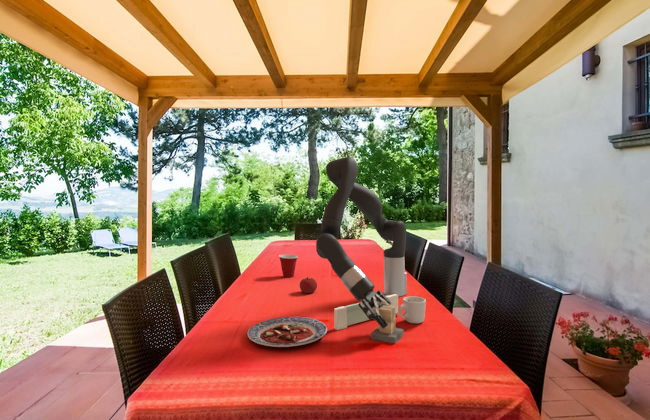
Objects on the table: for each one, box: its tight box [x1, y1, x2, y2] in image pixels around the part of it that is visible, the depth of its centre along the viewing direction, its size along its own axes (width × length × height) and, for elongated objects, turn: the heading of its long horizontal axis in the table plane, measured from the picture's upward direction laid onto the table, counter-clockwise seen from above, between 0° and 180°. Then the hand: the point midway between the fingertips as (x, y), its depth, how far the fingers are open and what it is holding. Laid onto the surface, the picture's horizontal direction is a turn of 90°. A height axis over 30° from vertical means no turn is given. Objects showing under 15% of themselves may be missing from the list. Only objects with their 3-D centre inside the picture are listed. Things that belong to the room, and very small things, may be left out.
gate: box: [344, 302, 379, 327], centre depth 133 cm, size 18×1×6 cm, turn 125°
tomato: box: [299, 277, 318, 295], centre depth 174 cm, size 8×8×7 cm
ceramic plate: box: [247, 316, 328, 348], centre depth 121 cm, size 26×26×3 cm
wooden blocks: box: [333, 294, 399, 331], centre depth 134 cm, size 29×2×7 cm, turn 125°
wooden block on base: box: [370, 305, 405, 345], centre depth 118 cm, size 8×8×10 cm
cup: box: [398, 295, 427, 324], centre depth 131 cm, size 11×8×8 cm
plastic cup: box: [278, 253, 299, 279], centre depth 208 cm, size 11×11×12 cm
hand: (390, 322), depth 118 cm, fingers open, 8 cm apart
